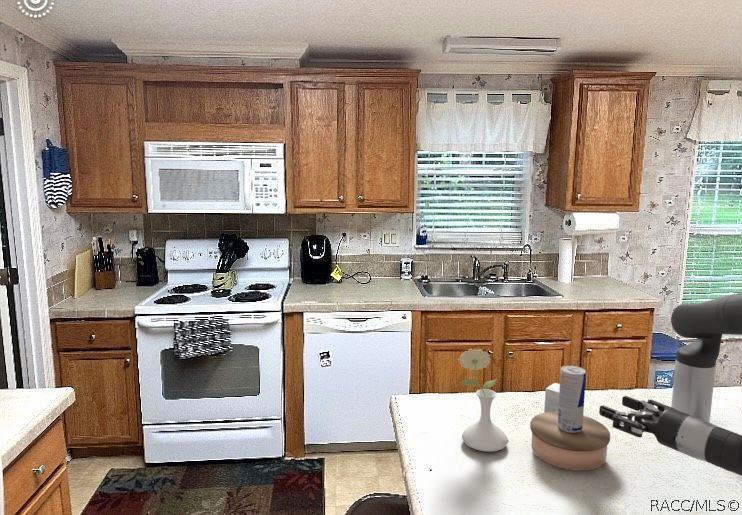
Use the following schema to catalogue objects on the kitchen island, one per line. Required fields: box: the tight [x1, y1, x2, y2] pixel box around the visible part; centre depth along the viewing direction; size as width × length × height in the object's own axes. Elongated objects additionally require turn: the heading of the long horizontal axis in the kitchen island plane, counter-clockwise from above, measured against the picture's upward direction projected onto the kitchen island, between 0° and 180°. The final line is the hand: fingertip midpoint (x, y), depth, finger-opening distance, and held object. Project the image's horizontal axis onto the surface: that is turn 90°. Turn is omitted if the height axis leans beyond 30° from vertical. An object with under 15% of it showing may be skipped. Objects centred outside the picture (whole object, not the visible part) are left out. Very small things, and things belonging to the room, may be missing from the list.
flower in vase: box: [457, 348, 509, 453], centre depth 133 cm, size 13×11×25 cm
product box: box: [543, 382, 560, 413], centre depth 151 cm, size 6×6×7 cm
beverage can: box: [558, 365, 587, 433], centre depth 126 cm, size 6×6×15 cm
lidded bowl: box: [529, 411, 611, 471], centre depth 128 cm, size 18×18×7 cm
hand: (611, 404), depth 117 cm, fingers open, 8 cm apart
